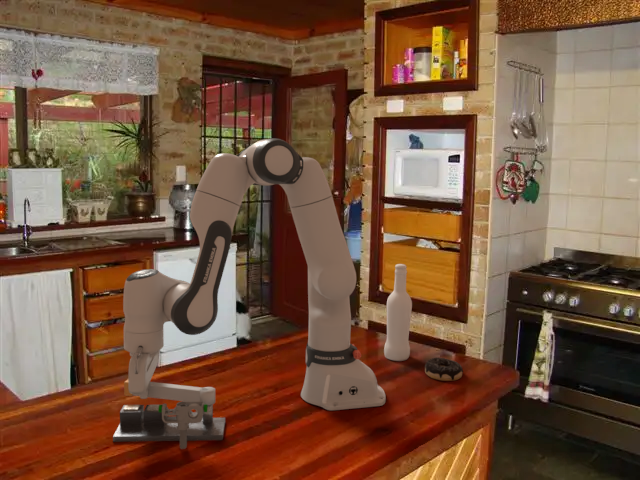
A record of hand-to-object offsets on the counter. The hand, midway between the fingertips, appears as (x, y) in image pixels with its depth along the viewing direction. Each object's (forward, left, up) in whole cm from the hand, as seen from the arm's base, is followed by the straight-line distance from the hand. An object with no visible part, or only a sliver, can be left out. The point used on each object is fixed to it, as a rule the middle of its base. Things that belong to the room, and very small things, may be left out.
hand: (144, 397), depth 145 cm
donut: (-81, -31, -7) cm, 87 cm away
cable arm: (-6, -1, -1) cm, 6 cm away
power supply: (-3, +2, -5) cm, 6 cm away
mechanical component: (-10, +12, -7) cm, 17 cm away
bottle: (-70, -45, -7) cm, 83 cm away
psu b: (+3, +2, -5) cm, 6 cm away
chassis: (-7, +4, -7) cm, 10 cm away
